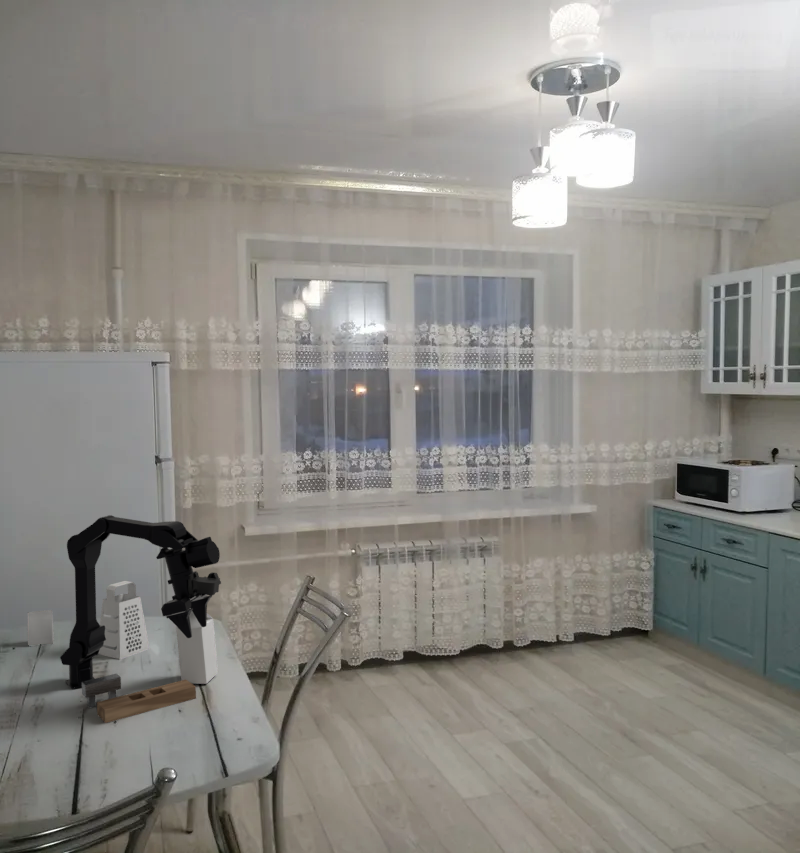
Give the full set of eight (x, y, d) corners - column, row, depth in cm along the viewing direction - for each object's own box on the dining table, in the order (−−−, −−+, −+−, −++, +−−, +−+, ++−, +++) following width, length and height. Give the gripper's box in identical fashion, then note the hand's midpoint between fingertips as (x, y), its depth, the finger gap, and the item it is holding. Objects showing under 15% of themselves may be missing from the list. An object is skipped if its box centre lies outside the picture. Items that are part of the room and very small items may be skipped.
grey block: (82, 706, 189) (81, 681, 189) (117, 697, 194) (116, 673, 194) (86, 710, 187) (85, 685, 187) (121, 700, 192) (120, 676, 192)
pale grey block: (52, 644, 236) (51, 611, 235) (28, 647, 233) (26, 614, 233) (53, 640, 239) (52, 608, 239) (29, 643, 237) (28, 610, 236)
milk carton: (206, 684, 201) (200, 613, 199) (181, 683, 203) (174, 613, 201) (218, 673, 208) (212, 603, 206) (193, 672, 209) (187, 603, 208)
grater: (149, 648, 230) (147, 581, 229) (120, 659, 221) (117, 590, 220) (126, 642, 236) (124, 577, 235) (96, 653, 227) (94, 585, 226)
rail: (97, 714, 184) (96, 702, 184) (186, 691, 198) (185, 679, 198) (105, 723, 179) (104, 710, 179) (195, 698, 193) (195, 686, 193)
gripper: (195, 572, 185) (213, 636, 185) (224, 556, 203) (239, 614, 203) (153, 583, 186) (170, 646, 186) (184, 566, 205) (200, 624, 205)
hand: (197, 632), depth 195 cm, fingers open, 9 cm apart
